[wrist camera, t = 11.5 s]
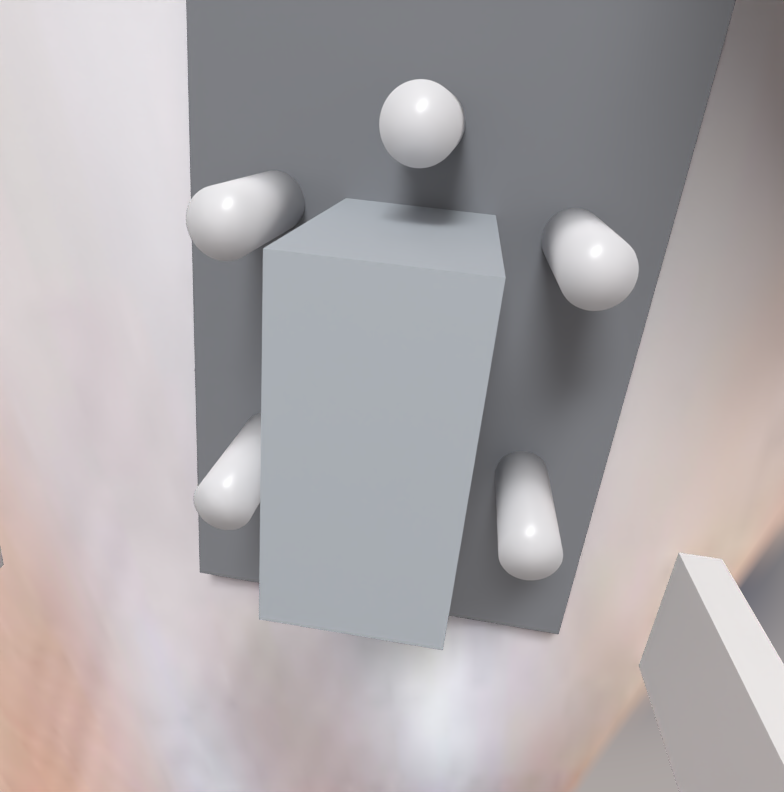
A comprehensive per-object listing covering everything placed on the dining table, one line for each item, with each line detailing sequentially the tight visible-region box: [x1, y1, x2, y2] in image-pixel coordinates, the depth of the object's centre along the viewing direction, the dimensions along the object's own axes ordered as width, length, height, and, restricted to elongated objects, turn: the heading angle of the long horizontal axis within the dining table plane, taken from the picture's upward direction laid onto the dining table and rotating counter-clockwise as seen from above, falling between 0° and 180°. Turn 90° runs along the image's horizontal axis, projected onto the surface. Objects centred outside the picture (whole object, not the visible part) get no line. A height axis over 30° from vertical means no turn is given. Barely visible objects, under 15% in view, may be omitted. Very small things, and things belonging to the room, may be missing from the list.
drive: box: [259, 198, 506, 650], centre depth 19 cm, size 5×10×9 cm, turn 174°
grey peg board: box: [186, 0, 736, 634], centre depth 21 cm, size 16×24×6 cm, turn 174°
